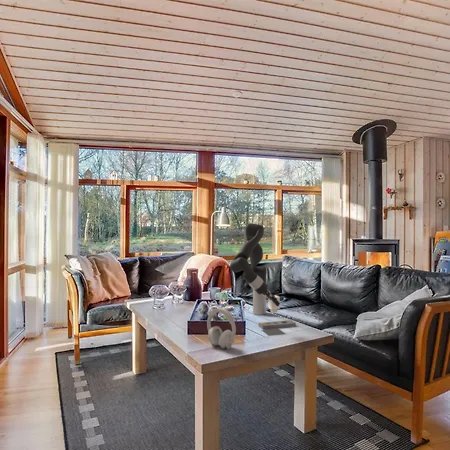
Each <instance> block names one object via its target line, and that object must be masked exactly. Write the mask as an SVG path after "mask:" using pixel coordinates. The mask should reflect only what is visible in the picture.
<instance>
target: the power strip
mask: <svg viewBox="0 0 450 450" xmlns="http://www.w3.org/2000/svg"><path fill="white" fill-rule="evenodd" d="M257 325H258V327H259V328H260V329H261V330H269V329H281V328H282V329H283V328H292V327H297V323H296V322H295V321H293V320H291V319H288V320H279V321H278V320H276V321H264V322H263V321H262V322H258V323H257Z"/></svg>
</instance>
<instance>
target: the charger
mask: <svg viewBox="0 0 450 450" xmlns="http://www.w3.org/2000/svg"><path fill="white" fill-rule="evenodd" d="M273 295H274V294H273ZM274 296H275V297H276V298H277V301H278V302H279V303H280V301H281V299H280V298H281V297H280V296H279V295H276V294H275V295H274ZM267 300H268V301H267V305H268V306H267V307H268V308H269V309H270V310H269V311H270V312H271V314H272V313H273V314H274V313H278V310H280V307H281V303H280V305H279V306H277V305H276V304H275V303H274V302H272V301H271V300H269V299H267Z"/></svg>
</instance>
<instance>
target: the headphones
mask: <svg viewBox="0 0 450 450" xmlns="http://www.w3.org/2000/svg"><path fill="white" fill-rule="evenodd" d="M217 313H220V314H222V315H224V316H225V318H226V319H227V320H228V322H229V324H230V325H231V330H230V329H226V330H224V331H223V330H222V328H221V327H220V326H218V325H215V326H212V325H211V322H212V319H213V317H214V316H215V315H216V314H217ZM206 326H207V328H206V329H207V331H208V332H207V333H208V334H207V335H208V341H209V342H210V344H211V345H212V346H220V347H221V348H222V349H226V350H230V349H231V347H232V345H233V344H234V342H235V337H236V333H237V327H236V323H235V319H234V316H233V315H232V314H231V313H230V311H229V310H227V309H225V308H222V307H218V308H215V309H212V310H211V311H210V312H209V314H208V316H207V320H206Z"/></svg>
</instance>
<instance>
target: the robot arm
mask: <svg viewBox="0 0 450 450" xmlns="http://www.w3.org/2000/svg"><path fill="white" fill-rule="evenodd" d="M264 233H265V228H264V225H262V224H258V223H247V224H246V226H245V237H246V242H244V243H243V244H242V245H241V247H240V249H239V250H238V252H237V254H236V255H235V256H234V258H233V259H232V260H231V262H230V265H229V268H230V270H231V271H232V272H233V273H239V272H241V271H243V273H242V278H243V279H244V281H245V282H247V284H248V285H249V287H251V289H252V291H253V292H252V314H254V315H258V316H259V315H266V313H267V300H268V299H269V300H271V301H272V302H274V303H275V304H276V305H277V306H279V305H280V306H281V303H279V302H278V301H277V298H276V297H275V296H274V294H273V292H271V291H270V290H269V289H268V287H269V286H268V284H267V267H266V266H259V265H258V264H260V263H261V261H263V258H264V249H263V248H262V246H261V244H260V243H259V242H260V241H261V240H262V238H263V236H264ZM248 260H249V261H250V263H249V261H248ZM257 265H258V266H257Z"/></svg>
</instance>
